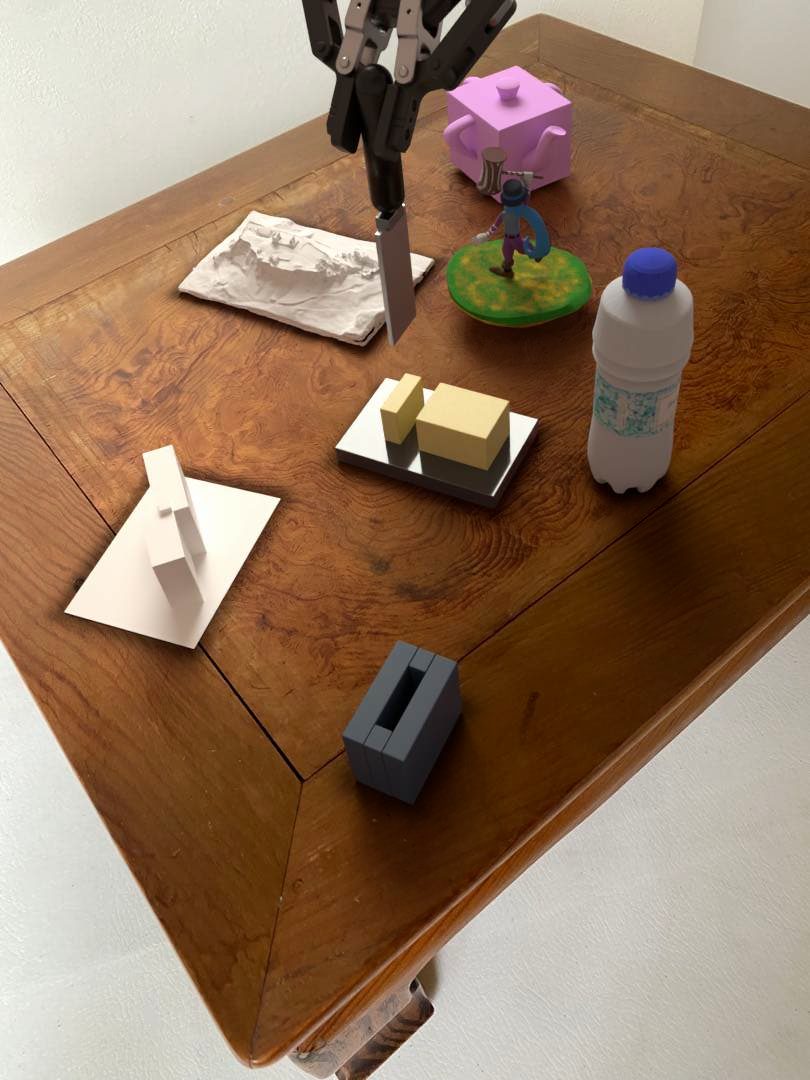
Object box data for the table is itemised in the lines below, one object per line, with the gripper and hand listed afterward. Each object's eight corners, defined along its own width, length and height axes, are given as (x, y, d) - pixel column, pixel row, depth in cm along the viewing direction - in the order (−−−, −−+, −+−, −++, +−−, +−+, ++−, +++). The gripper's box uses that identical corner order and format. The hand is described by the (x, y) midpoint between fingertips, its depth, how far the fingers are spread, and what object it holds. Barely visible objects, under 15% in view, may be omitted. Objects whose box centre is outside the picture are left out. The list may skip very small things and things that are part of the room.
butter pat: (425, 408, 82) (422, 376, 79) (400, 445, 80) (396, 413, 77) (409, 404, 83) (405, 372, 80) (384, 440, 80) (379, 408, 77)
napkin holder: (158, 470, 83) (137, 421, 78) (281, 497, 79) (267, 447, 75) (62, 613, 74) (33, 567, 70) (196, 649, 71) (174, 603, 66)
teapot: (613, 195, 101) (621, 99, 93) (498, 244, 98) (495, 148, 90) (517, 124, 112) (517, 32, 104) (410, 165, 109) (401, 74, 101)
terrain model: (382, 362, 90) (377, 318, 86) (164, 311, 96) (150, 267, 92) (445, 254, 99) (444, 210, 95) (243, 213, 105) (233, 170, 101)
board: (538, 432, 81) (538, 419, 80) (494, 509, 76) (493, 496, 75) (387, 390, 86) (385, 377, 85) (337, 460, 81) (334, 447, 80)
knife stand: (462, 709, 66) (458, 661, 61) (413, 805, 62) (403, 762, 57) (406, 687, 67) (397, 639, 63) (354, 780, 63) (340, 735, 59)
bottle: (659, 512, 75) (695, 295, 59) (573, 492, 77) (585, 278, 61) (679, 450, 78) (717, 231, 63) (595, 433, 80) (612, 217, 65)
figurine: (617, 291, 92) (631, 139, 80) (545, 371, 86) (548, 219, 74) (492, 248, 98) (488, 100, 86) (416, 320, 92) (400, 172, 80)
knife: (428, 318, 70) (404, 53, 56) (405, 349, 69) (374, 84, 54) (400, 311, 71) (369, 48, 57) (377, 342, 69) (339, 78, 55)
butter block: (510, 432, 79) (509, 400, 77) (487, 471, 77) (486, 439, 74) (442, 413, 81) (440, 381, 79) (418, 450, 79) (414, 418, 76)
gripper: (300, -218, 53) (229, 115, 56) (542, -207, 48) (450, 155, 52) (358, -140, 60) (293, 152, 63) (576, -123, 55) (493, 191, 58)
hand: (364, 152), depth 57 cm, fingers closed on knife, 2 cm apart
